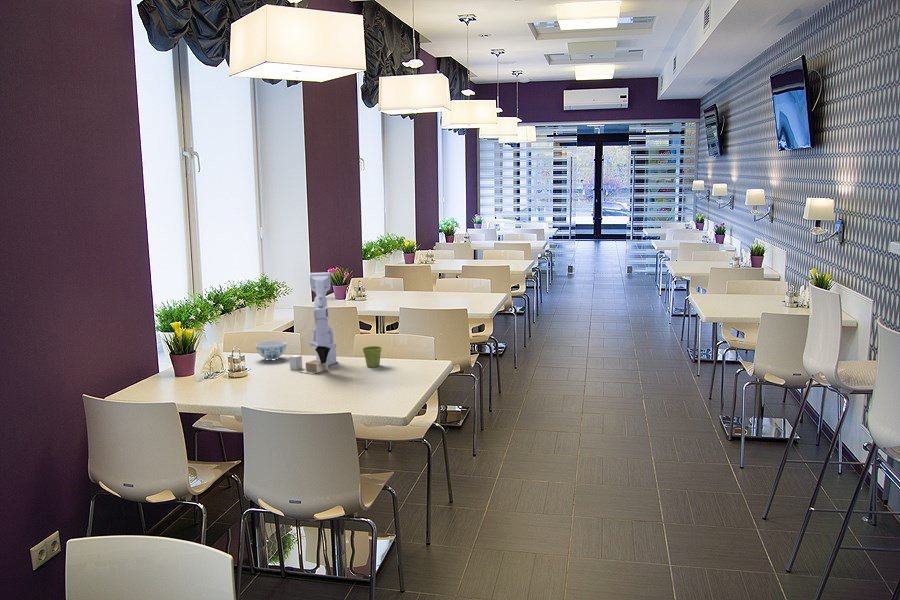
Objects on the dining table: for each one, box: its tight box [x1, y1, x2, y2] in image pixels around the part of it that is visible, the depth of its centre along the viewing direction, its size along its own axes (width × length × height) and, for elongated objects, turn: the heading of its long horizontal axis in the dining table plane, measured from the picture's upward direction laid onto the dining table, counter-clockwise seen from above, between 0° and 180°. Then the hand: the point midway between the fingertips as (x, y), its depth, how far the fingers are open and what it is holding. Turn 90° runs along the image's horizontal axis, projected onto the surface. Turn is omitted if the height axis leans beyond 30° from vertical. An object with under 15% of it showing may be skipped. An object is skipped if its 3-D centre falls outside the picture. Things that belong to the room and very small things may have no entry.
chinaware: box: [255, 340, 287, 360], centre depth 391 cm, size 15×15×8 cm
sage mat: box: [300, 367, 330, 375], centre depth 364 cm, size 11×8×1 cm
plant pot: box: [361, 345, 383, 368], centre depth 370 cm, size 9×9×9 cm
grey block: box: [289, 354, 303, 370], centre depth 369 cm, size 4×4×6 cm
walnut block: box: [305, 359, 329, 374], centre depth 363 cm, size 7×4×7 cm
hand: (323, 362), depth 360 cm, fingers closed
